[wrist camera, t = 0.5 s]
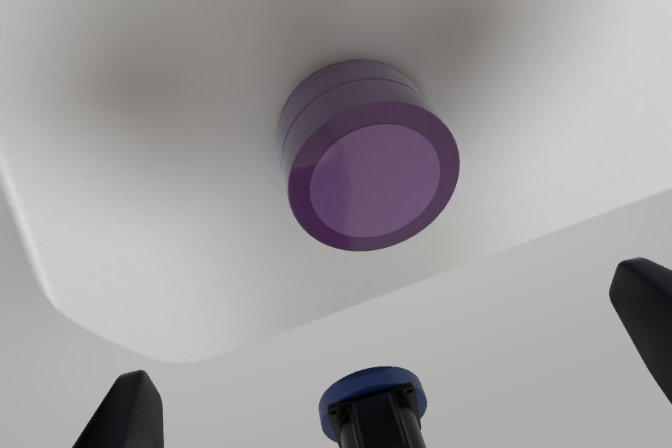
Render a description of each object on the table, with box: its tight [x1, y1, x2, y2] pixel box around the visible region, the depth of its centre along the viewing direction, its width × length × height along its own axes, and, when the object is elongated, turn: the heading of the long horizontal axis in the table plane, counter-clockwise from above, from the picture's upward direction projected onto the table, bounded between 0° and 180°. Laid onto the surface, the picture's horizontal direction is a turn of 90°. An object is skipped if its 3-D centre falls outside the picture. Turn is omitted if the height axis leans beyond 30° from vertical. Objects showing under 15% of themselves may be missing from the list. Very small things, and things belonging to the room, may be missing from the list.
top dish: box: [282, 79, 460, 251], centre depth 20 cm, size 7×7×2 cm
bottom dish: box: [277, 60, 427, 169], centre depth 21 cm, size 7×7×2 cm
